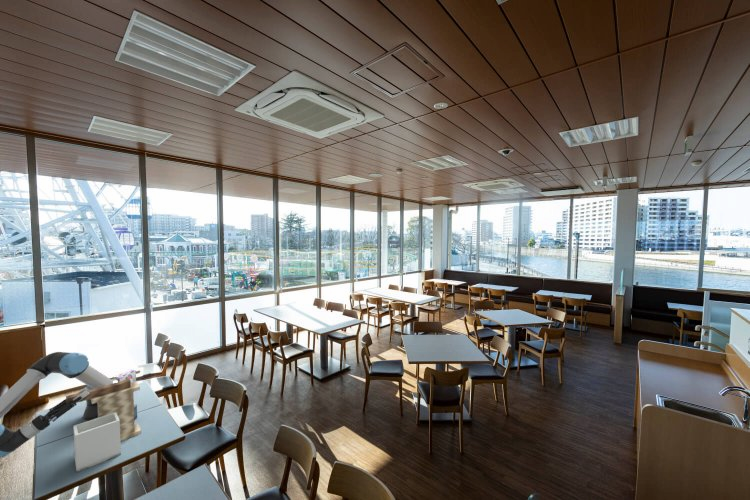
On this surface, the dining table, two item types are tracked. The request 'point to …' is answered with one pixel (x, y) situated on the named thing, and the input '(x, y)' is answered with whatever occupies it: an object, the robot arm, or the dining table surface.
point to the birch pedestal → (120, 409)
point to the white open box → (96, 441)
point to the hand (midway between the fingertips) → (87, 390)
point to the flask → (135, 411)
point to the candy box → (126, 376)
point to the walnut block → (101, 390)
